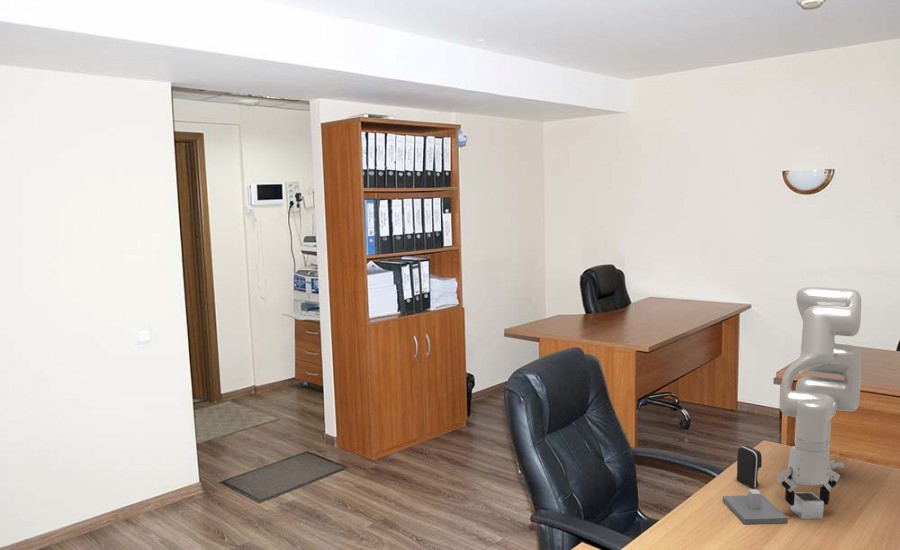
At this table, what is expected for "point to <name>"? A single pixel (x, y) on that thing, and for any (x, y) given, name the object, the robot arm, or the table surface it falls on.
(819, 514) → the collar
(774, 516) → the stand
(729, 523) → the table surface
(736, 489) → the table surface
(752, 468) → the battery charger
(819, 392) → the robot arm
